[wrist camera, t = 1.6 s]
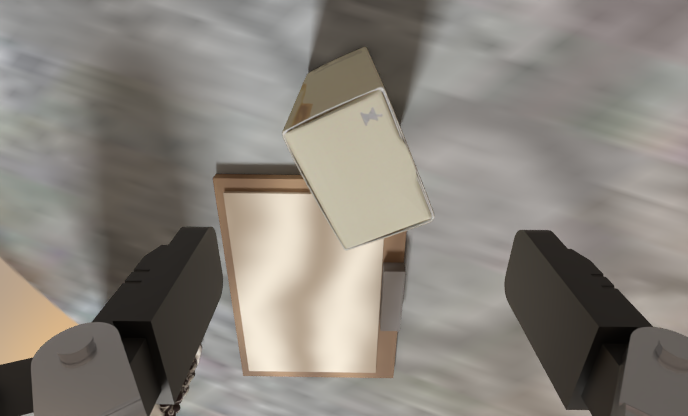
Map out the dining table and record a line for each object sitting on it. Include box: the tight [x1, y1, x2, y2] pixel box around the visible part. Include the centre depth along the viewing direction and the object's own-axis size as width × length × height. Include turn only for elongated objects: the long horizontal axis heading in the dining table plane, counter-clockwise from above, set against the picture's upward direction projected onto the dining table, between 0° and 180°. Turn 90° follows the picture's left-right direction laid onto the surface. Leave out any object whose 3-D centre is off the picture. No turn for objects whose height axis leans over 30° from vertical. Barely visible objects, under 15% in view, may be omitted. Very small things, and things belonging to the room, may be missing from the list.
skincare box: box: [282, 47, 434, 250], centre depth 21 cm, size 6×4×12 cm
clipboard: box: [213, 174, 406, 378], centre depth 32 cm, size 14×20×2 cm
